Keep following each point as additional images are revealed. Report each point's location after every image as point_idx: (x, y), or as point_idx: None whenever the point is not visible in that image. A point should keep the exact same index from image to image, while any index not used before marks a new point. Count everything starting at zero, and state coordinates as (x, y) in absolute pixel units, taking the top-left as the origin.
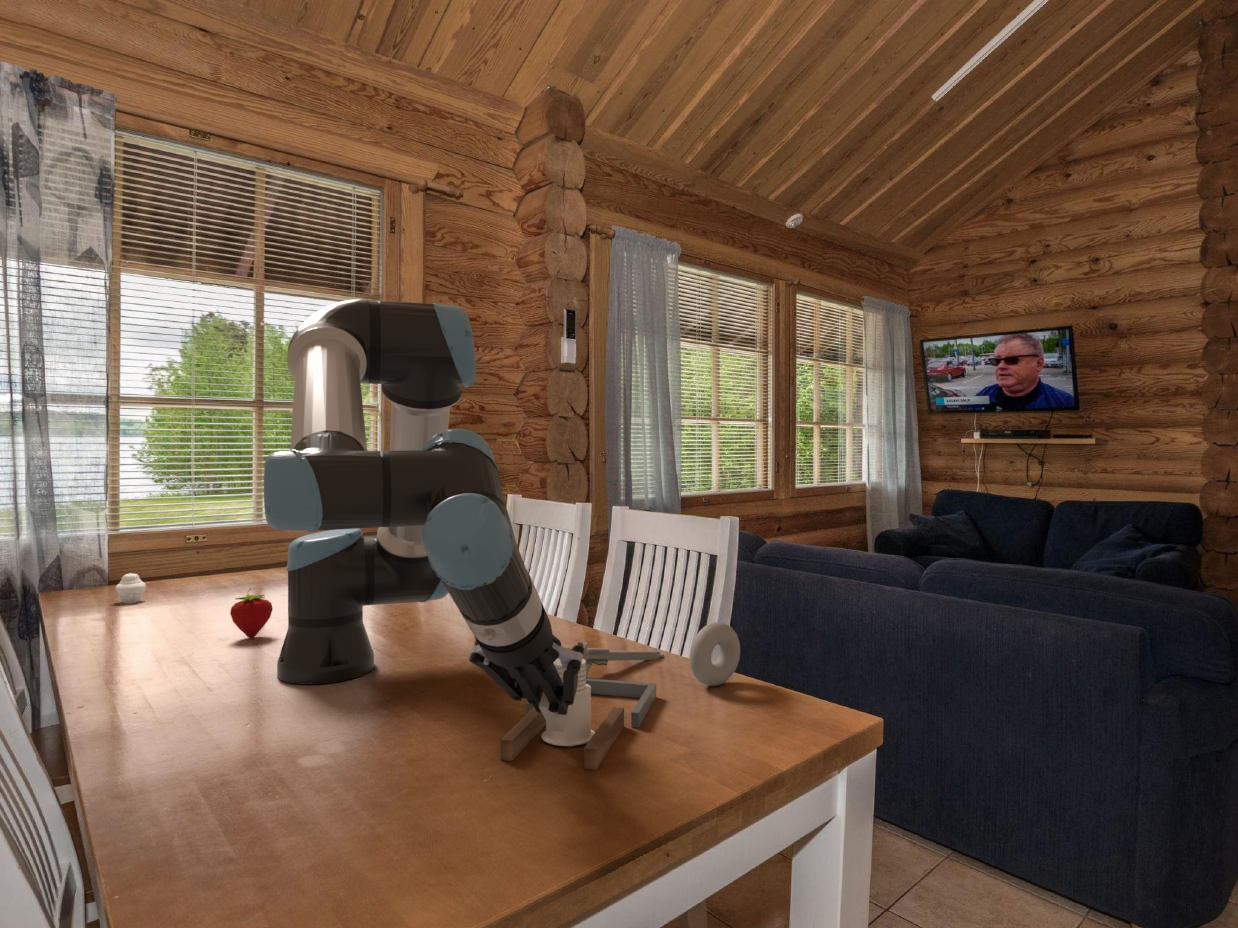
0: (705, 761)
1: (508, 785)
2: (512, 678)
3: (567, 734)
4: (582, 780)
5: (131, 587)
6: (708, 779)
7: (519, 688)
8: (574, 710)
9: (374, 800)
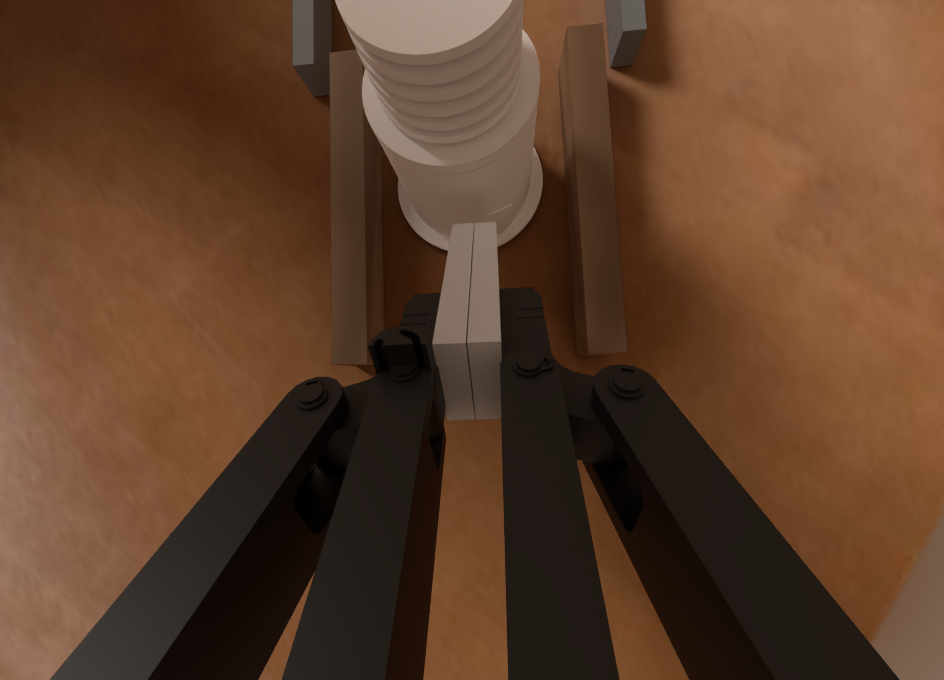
0: (876, 219)
1: None
2: (281, 574)
3: None
4: None
5: None
6: (914, 323)
7: (336, 459)
8: (502, 183)
9: None
